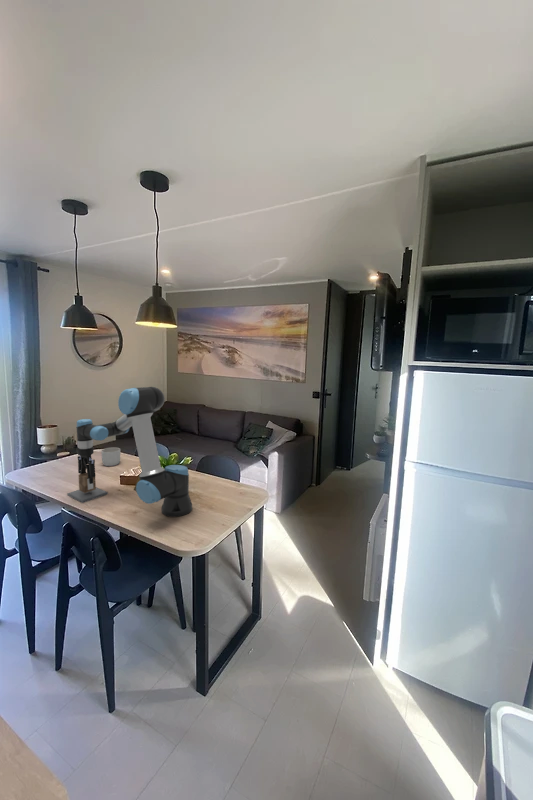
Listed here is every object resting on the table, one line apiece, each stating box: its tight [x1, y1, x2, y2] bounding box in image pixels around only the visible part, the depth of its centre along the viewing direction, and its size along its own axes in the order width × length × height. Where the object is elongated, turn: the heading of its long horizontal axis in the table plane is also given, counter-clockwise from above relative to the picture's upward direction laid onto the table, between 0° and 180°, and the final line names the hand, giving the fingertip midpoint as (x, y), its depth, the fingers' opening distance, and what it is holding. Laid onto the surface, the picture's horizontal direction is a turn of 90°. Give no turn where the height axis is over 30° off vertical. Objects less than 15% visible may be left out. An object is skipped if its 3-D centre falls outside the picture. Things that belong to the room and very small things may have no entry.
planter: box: [100, 447, 121, 467], centre depth 230 cm, size 12×12×11 cm
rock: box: [133, 473, 141, 491], centre depth 192 cm, size 11×9×10 cm
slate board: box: [66, 486, 109, 504], centre depth 180 cm, size 16×14×1 cm
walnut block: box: [78, 472, 97, 493], centre depth 179 cm, size 6×6×9 cm
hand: (87, 487), depth 179 cm, fingers closed on walnut block, 6 cm apart
